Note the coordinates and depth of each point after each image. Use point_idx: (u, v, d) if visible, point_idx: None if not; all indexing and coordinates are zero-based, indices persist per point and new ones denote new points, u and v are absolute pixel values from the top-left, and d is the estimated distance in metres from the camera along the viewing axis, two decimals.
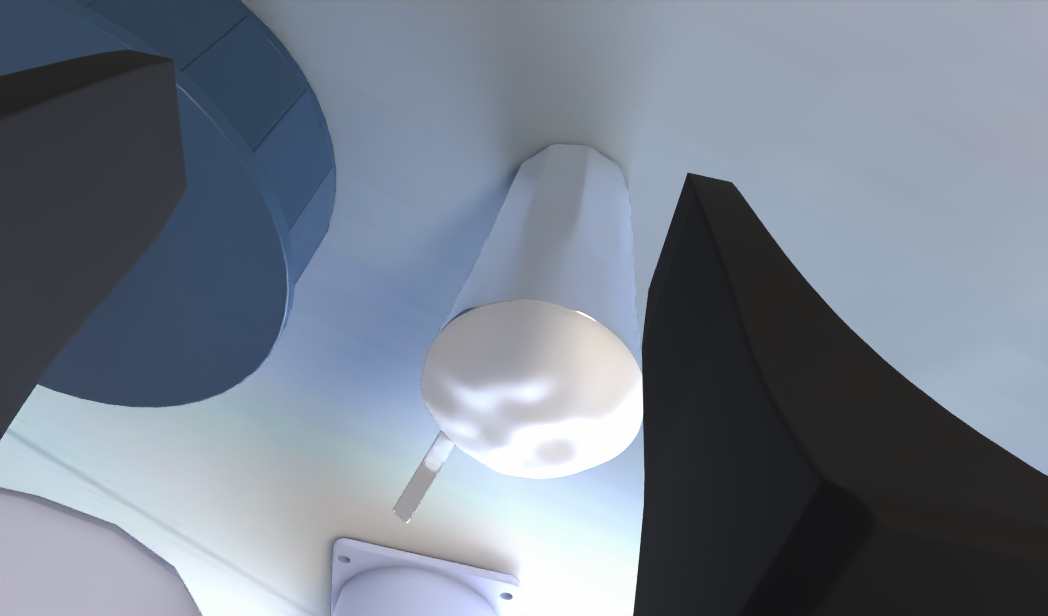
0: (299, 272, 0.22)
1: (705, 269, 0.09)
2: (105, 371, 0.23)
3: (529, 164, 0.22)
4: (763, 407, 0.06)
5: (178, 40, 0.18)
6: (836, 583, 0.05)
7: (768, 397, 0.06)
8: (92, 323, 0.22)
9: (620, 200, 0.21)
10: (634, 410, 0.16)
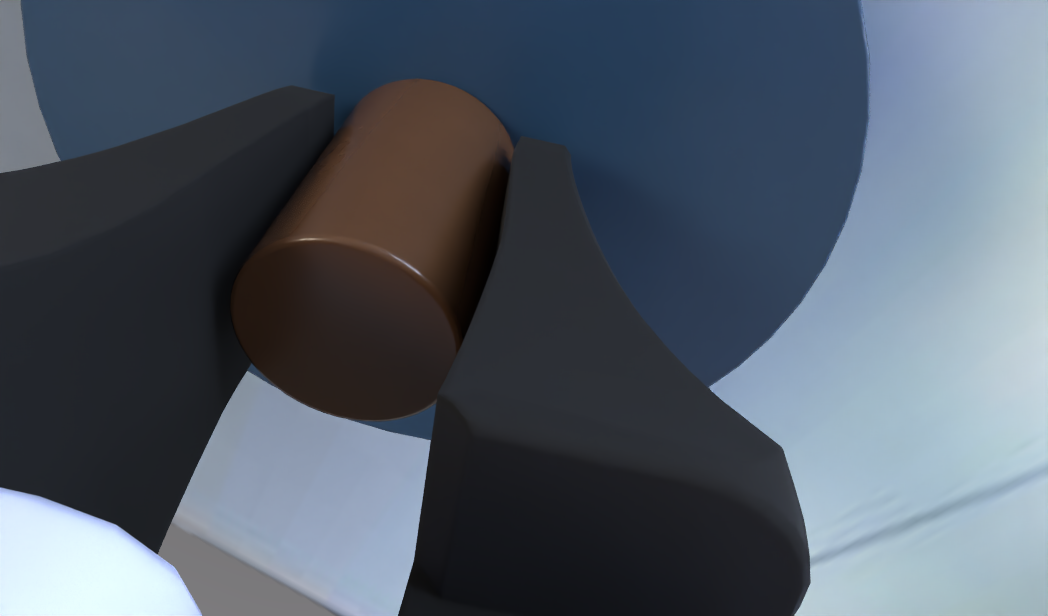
0: None
1: (502, 224, 0.09)
2: (753, 189, 0.12)
3: None
4: (466, 342, 0.06)
5: None
6: (461, 499, 0.05)
7: (470, 330, 0.06)
8: (628, 167, 0.12)
9: None
10: None
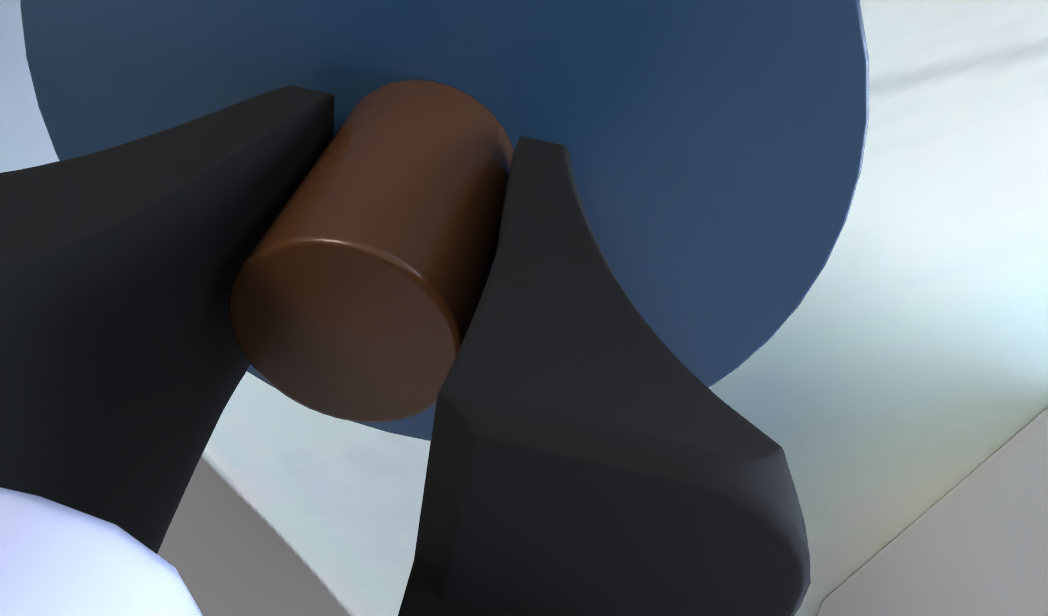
0: None
1: (503, 224, 0.09)
2: (753, 190, 0.12)
3: None
4: (466, 341, 0.06)
5: None
6: (463, 499, 0.05)
7: (470, 331, 0.06)
8: (627, 168, 0.12)
9: None
10: None
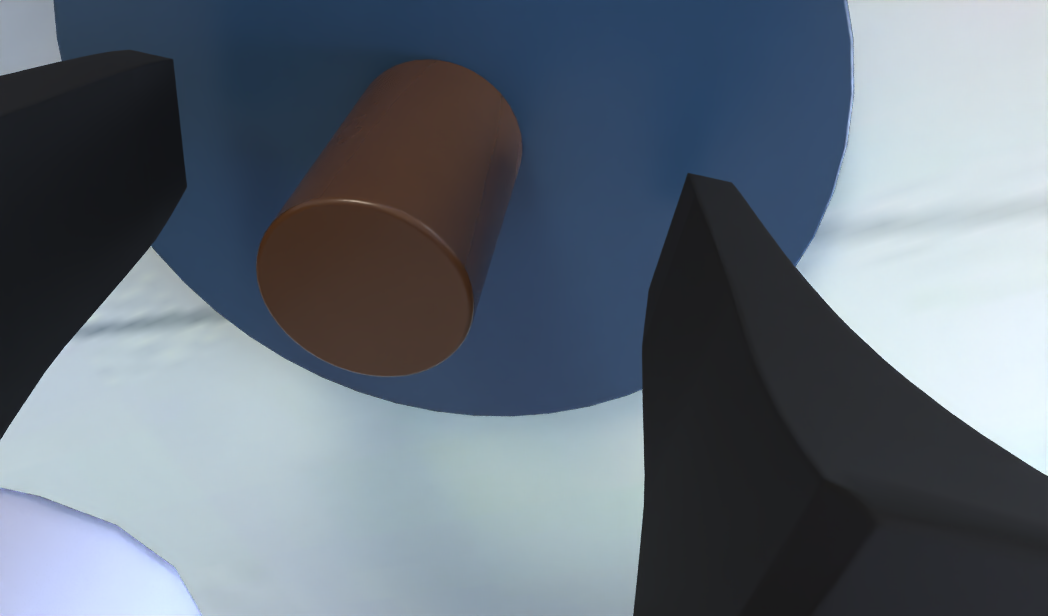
0: None
1: (705, 269, 0.09)
2: (745, 164, 0.12)
3: None
4: (763, 409, 0.06)
5: None
6: (836, 583, 0.05)
7: (768, 397, 0.06)
8: (627, 143, 0.12)
9: None
10: None
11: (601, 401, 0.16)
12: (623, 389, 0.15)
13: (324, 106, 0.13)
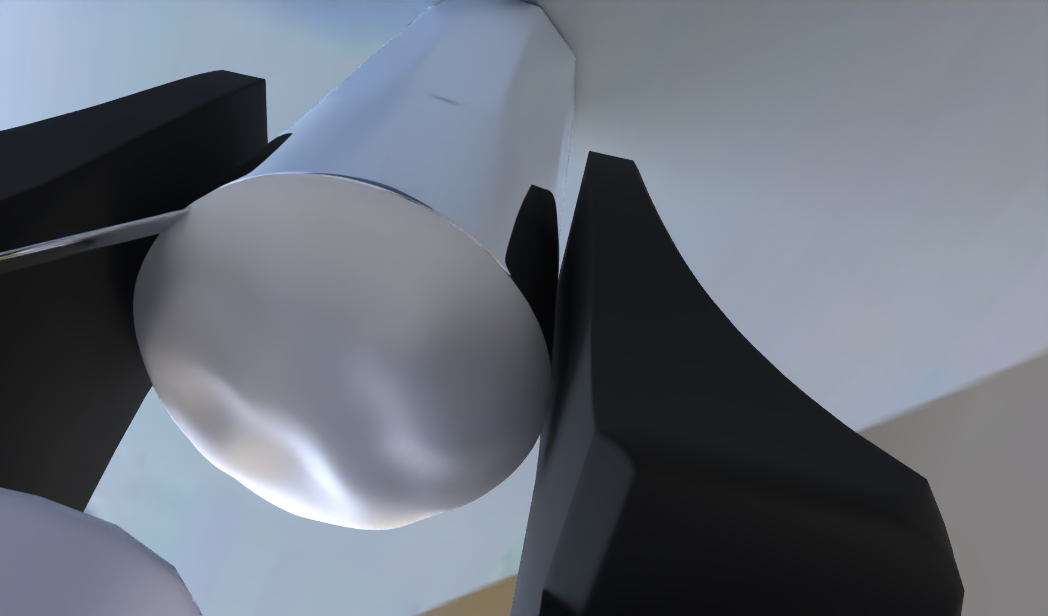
0: None
1: (585, 242, 0.09)
2: None
3: (551, 35, 0.14)
4: (587, 368, 0.06)
5: None
6: (615, 533, 0.05)
7: (592, 358, 0.06)
8: None
9: None
10: None
11: None
12: None
13: None
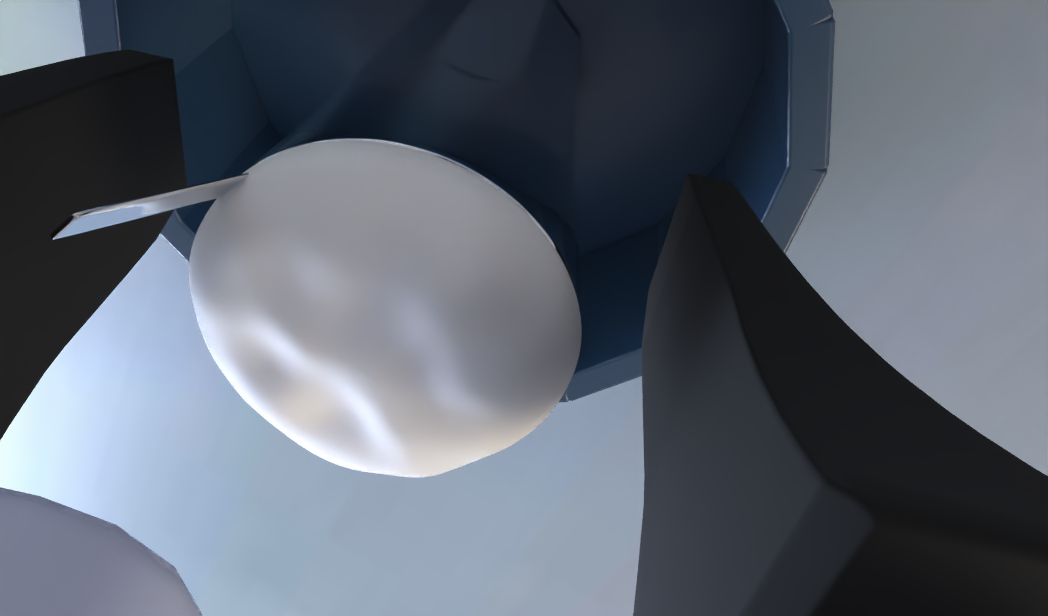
0: None
1: (705, 269, 0.09)
2: None
3: (558, 18, 0.14)
4: (764, 407, 0.06)
5: None
6: (837, 585, 0.05)
7: (768, 397, 0.06)
8: None
9: None
10: None
11: None
12: None
13: None
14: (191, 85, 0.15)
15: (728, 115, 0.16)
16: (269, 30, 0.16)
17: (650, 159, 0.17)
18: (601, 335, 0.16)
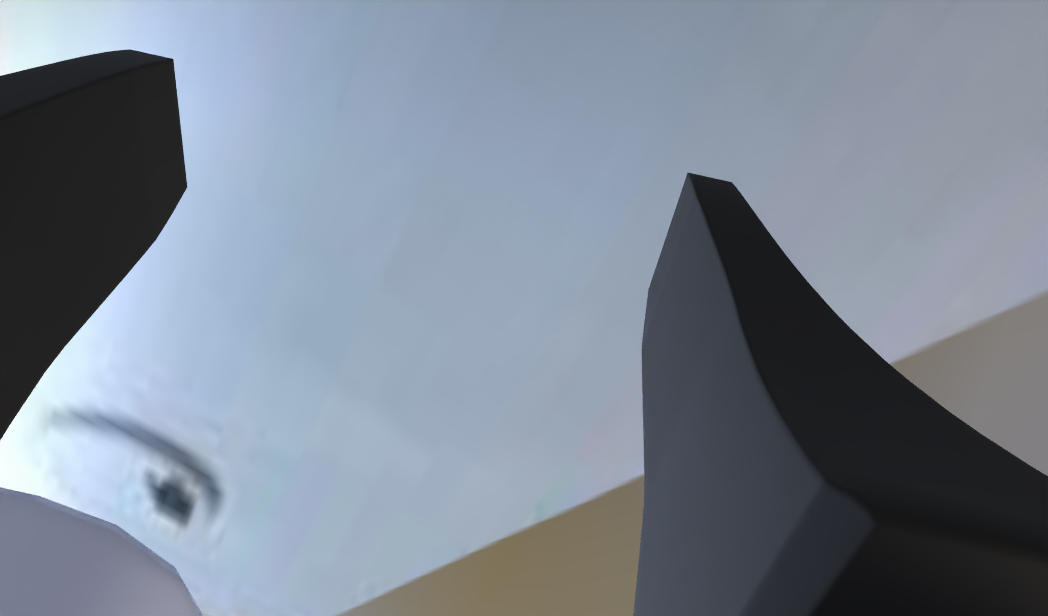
0: None
1: (705, 269, 0.09)
2: None
3: None
4: (763, 407, 0.06)
5: None
6: (836, 583, 0.05)
7: (768, 397, 0.06)
8: None
9: None
10: None
11: None
12: None
13: None
14: None
15: None
16: None
17: None
18: None
